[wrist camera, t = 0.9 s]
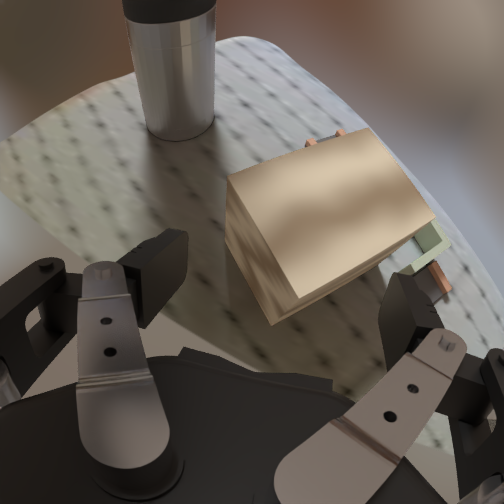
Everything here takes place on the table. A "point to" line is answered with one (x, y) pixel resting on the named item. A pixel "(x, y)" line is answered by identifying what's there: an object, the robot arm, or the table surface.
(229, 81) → the table surface
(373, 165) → the ash block
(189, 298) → the table surface
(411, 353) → the robot arm
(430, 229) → the grey-green piece
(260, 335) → the table surface
